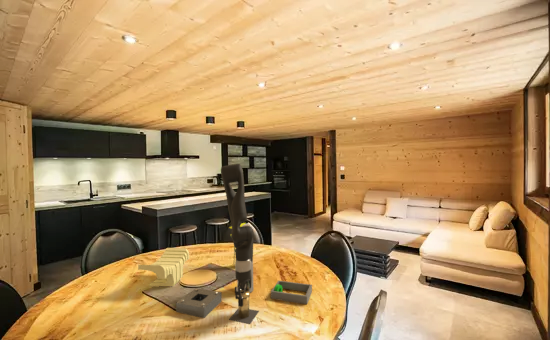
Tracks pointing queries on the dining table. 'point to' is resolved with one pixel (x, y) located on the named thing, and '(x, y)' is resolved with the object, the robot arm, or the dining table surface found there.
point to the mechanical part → (278, 288)
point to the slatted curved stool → (168, 267)
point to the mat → (244, 320)
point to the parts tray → (290, 296)
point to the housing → (199, 302)
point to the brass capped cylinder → (244, 305)
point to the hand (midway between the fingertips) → (243, 302)
